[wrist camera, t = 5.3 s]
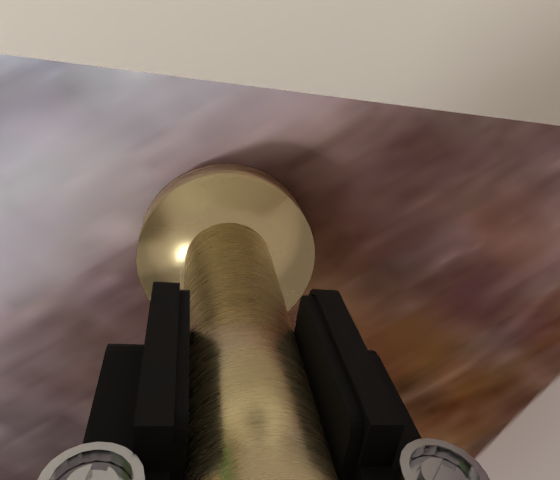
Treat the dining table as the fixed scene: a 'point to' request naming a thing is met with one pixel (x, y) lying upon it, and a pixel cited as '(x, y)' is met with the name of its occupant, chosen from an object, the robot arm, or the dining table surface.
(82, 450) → the robot arm
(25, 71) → the dining table surface
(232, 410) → the bolt
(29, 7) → the keyhole box
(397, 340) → the dining table surface
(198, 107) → the dining table surface
